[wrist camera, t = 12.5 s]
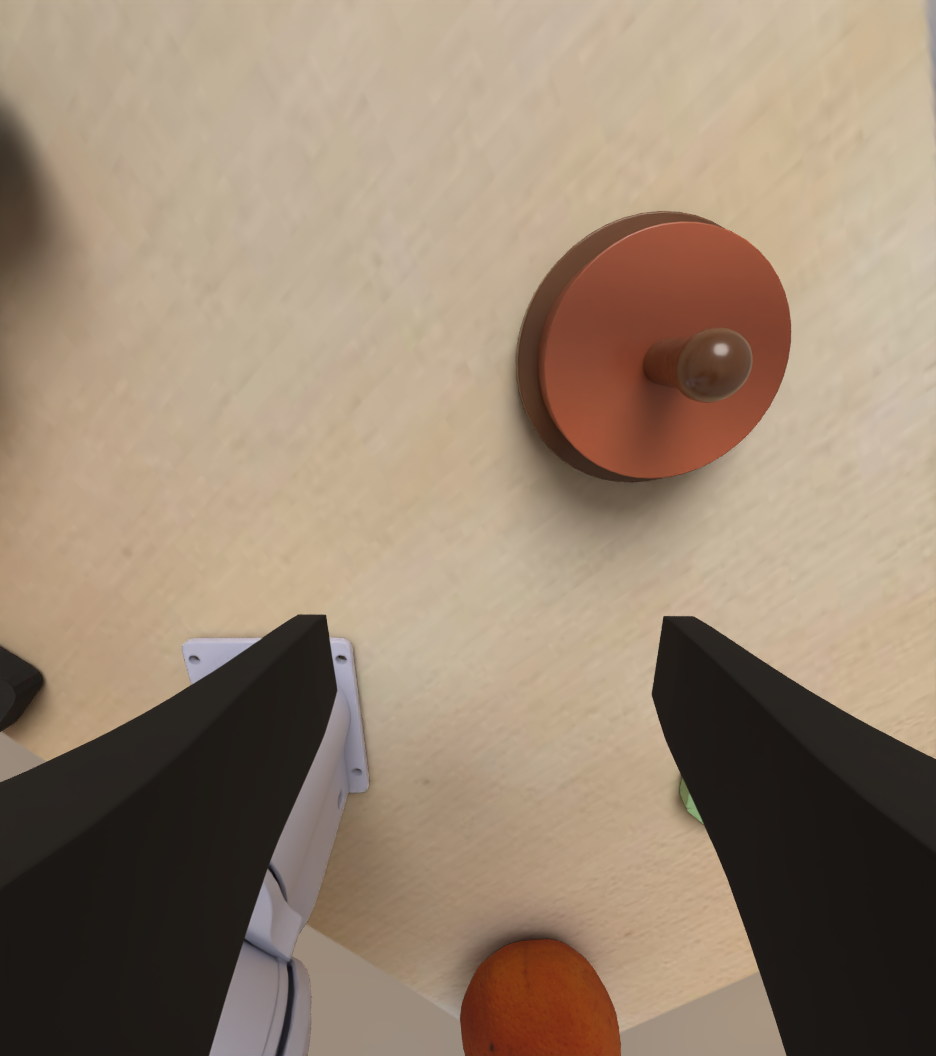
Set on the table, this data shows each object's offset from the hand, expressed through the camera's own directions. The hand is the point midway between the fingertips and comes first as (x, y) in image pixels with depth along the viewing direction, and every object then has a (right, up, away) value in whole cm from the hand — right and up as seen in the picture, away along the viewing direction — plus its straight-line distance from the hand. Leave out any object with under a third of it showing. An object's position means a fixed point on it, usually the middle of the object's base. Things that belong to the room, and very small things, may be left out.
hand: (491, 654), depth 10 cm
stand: (+6, +9, +8) cm, 13 cm away
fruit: (+4, -24, +21) cm, 32 cm away
